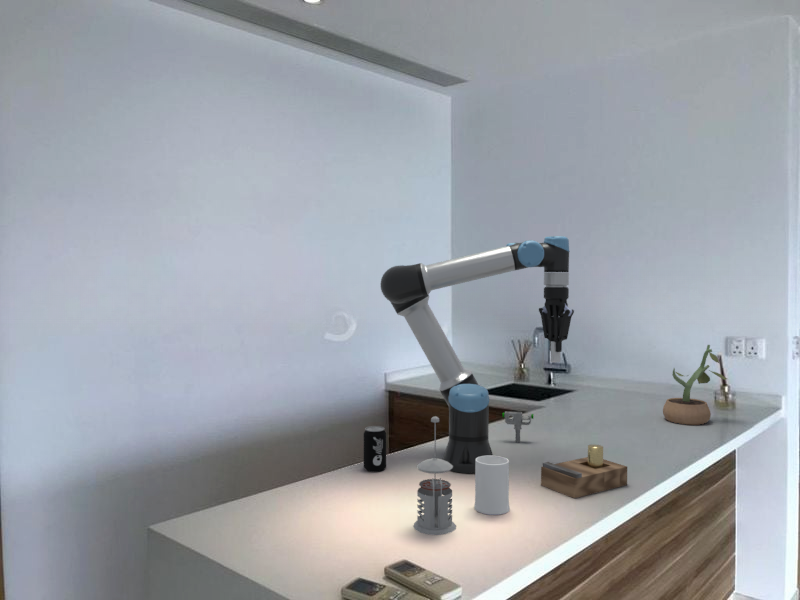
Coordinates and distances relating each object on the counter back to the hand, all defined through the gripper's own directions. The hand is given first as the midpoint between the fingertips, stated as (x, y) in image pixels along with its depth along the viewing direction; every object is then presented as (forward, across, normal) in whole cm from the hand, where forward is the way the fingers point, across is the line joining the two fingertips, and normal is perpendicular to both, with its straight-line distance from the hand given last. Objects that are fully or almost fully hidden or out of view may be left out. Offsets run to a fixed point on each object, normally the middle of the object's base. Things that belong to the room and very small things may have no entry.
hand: (555, 361), depth 203 cm
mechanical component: (+30, +18, -1) cm, 35 cm away
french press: (+30, -28, +65) cm, 77 cm away
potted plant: (+30, +5, -79) cm, 85 cm away
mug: (+30, -25, +45) cm, 59 cm away
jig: (+29, -25, +14) cm, 41 cm away
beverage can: (+30, +17, +55) cm, 65 cm away
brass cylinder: (+29, -25, +10) cm, 40 cm away
